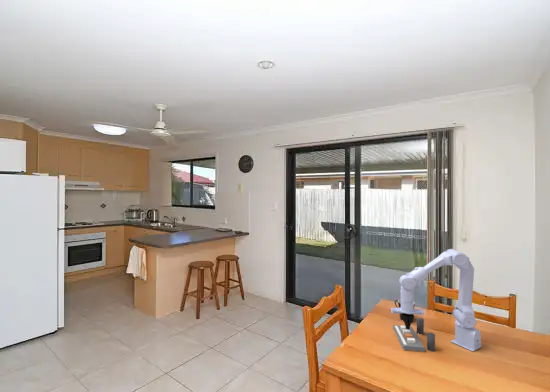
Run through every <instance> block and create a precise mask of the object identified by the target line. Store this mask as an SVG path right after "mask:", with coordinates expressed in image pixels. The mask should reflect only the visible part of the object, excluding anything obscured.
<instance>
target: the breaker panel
mask: <svg viewBox="0 0 550 392" xmlns="http://www.w3.org/2000/svg"><path fill="white" fill-rule="evenodd" d="M393 329H394V330H393ZM392 330H393V331H395V332H394V333H396V334H395V336H396V335H397V336H396V338H397V337H398V338H397V339H398V342H399V344H400V346H401V348H402V350H403V349H405V350H404V351H407V350H415V351H414V352H419V351H422V352H423V353H425V351H426V350H425V349H426V348H425V346H424V344H423V343H422V341H421V339H420V338H419V337H418V334H417V332H415V330H414V328H413V327H412V326H411V325H410V330H408V329H406V328H405V325H399V324H398V325H395V324H393V325H392Z"/></svg>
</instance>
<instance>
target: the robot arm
mask: <svg viewBox="0 0 550 392" xmlns="http://www.w3.org/2000/svg"><path fill="white" fill-rule="evenodd" d="M453 265H454V266H455V267H456V268H457V269H459V282H458V295H457V296H458V297H457V303H455V306H454V309H453V310H452V316H453V317H454V318H455V321H454V330H455V332H454V334H455V335H454V337H455V338H454V339H452V340H450V342H451V343H453V344H455V345H457V346H459V347H462V348H464V349H466V350H469V351H471V352H474V351H477V350H478V349H480V348H482V341H481V340H482V337H481V336H482V333H481V331H480V330H479V329H477V328H476V327H475V326H476V325H477V319H476V317H475V313H476V312H475V310H474V309H473V306H472V305H473V304H472V303H473V293H474V292H473V291H474V278H475V277H474V276H475V275H474V273H475V267H474V266H473V264H472V262H471V261H470V257H468V255H466V254H465V253H463V252H461V251H459V250H456V249H454V248H449V249H446V250H445V251H443V252H442V253H440V254H439V255H438V256H437V257H436V258H434V259H432V261H429V262H428V263H427V264H426V265H424V266H418V267H417V266H416V267H414V269H413V270H412V271H410V272H407V273H405V274H403V275H401V276H400V278H399V280H398V283H399V285H400V299H401V308H399V307H398V308H397V307H391V308H390V312H391V314H393V315H394V314H400V313H401V315H402V317H403V320H404V321H403V323H404V326H405V328H406V329H408V330H410V326H411V325H412V323H413V321H414V319H415V315H419V316H420V315H421V316H425V311H424V310H423V309H417V308H415V306H414V303H415V301H414V299H415V298H414V297H415V296H414V289H415V287H416V285H417V284H419V283H420V282H422V281H424V280H425V279H427V278H428V277H429V273H432V272H433V271H436V270H437V269H439V268H440V267H443V266H453Z"/></svg>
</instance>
